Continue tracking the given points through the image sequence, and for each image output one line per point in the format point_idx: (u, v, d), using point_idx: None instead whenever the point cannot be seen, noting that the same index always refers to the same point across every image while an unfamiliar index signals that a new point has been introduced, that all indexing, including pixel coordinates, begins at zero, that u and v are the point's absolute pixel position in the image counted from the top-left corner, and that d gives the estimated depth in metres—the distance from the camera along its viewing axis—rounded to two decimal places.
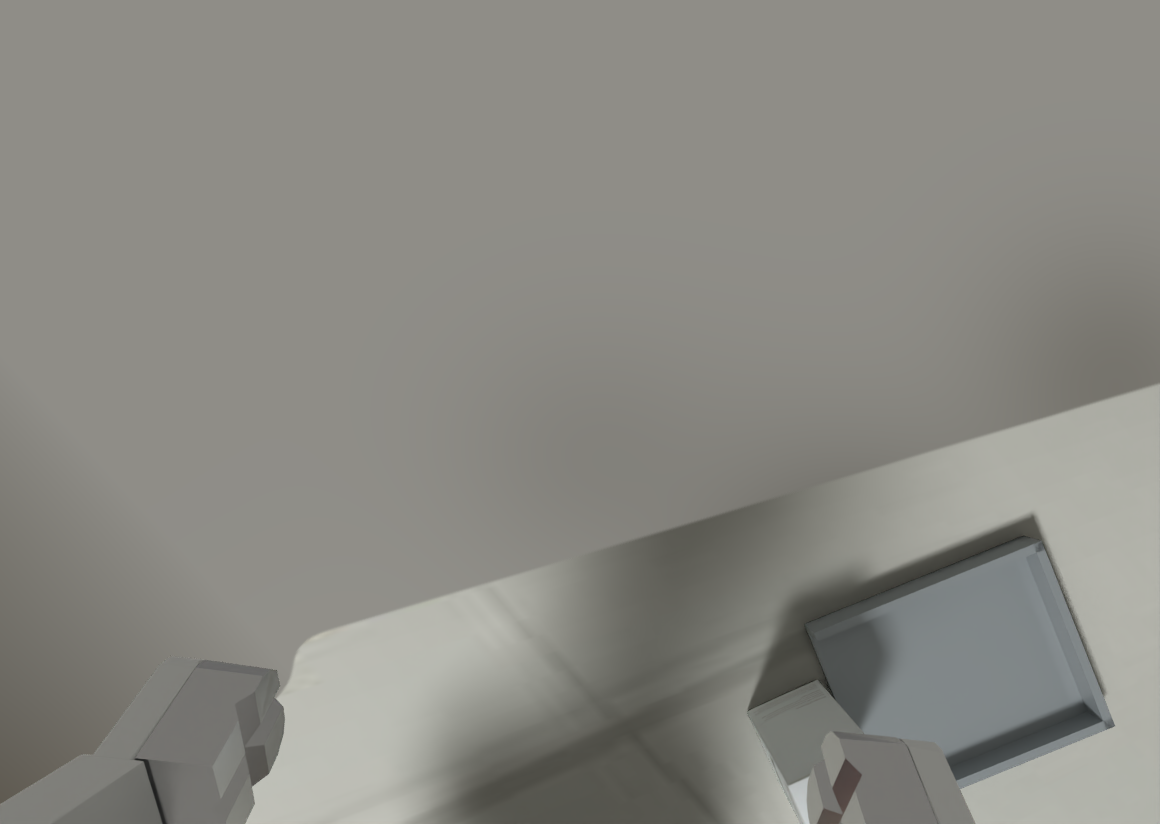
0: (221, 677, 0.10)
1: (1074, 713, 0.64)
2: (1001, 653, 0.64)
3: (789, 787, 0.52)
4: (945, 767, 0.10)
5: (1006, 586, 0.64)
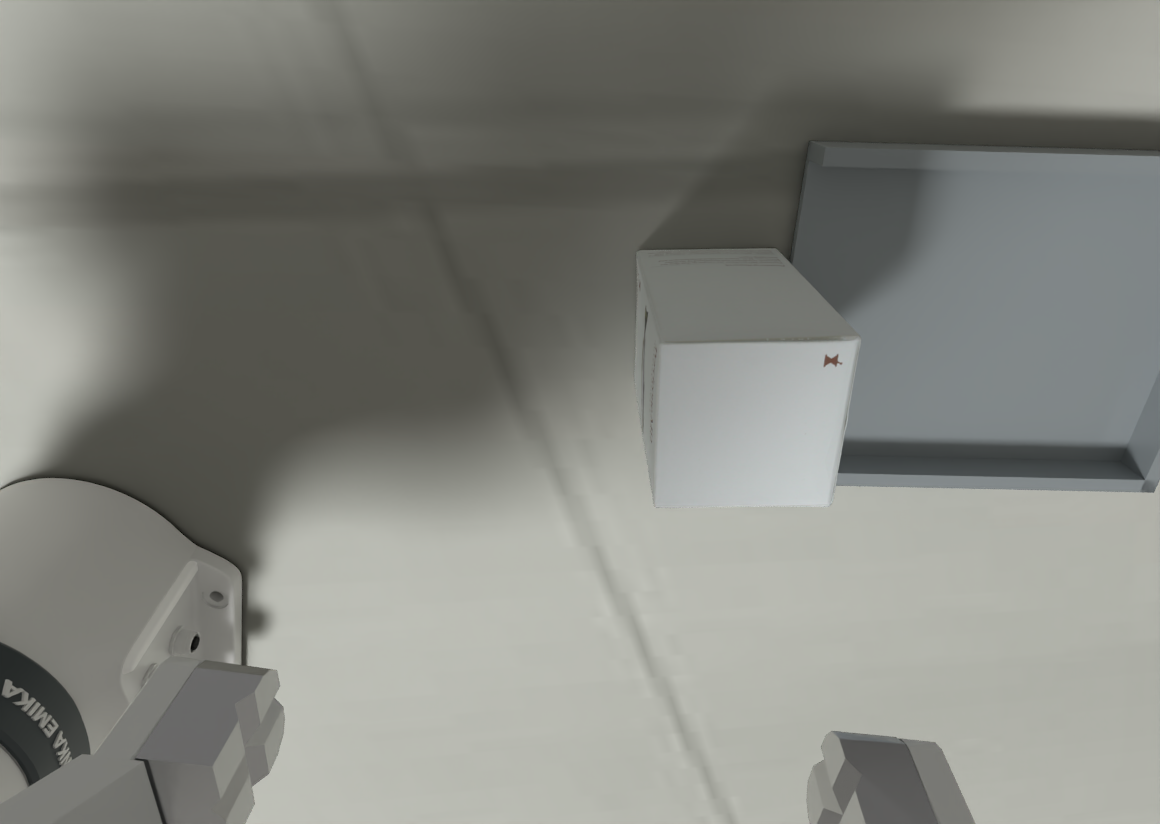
0: (221, 678, 0.10)
1: (1102, 457, 0.41)
2: (1076, 331, 0.37)
3: (661, 347, 0.25)
4: (945, 767, 0.10)
5: None
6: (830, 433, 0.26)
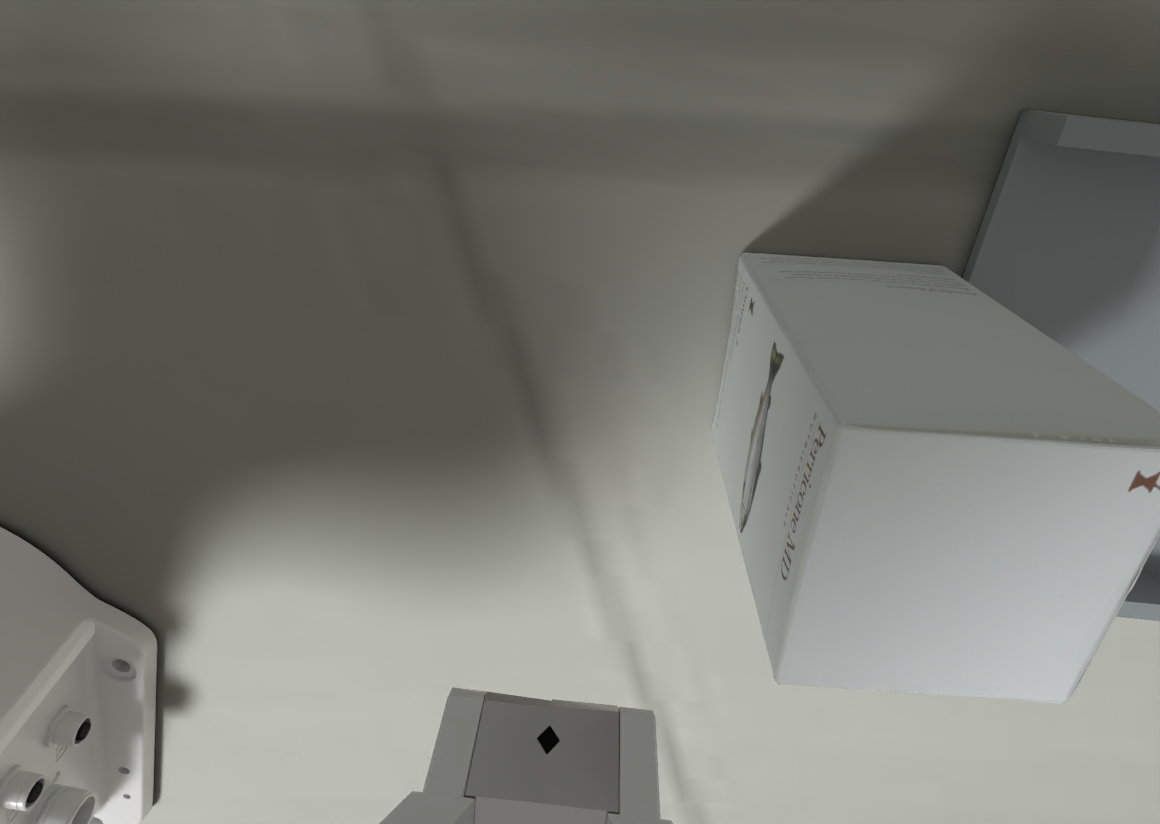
0: (507, 709, 0.10)
1: None
2: None
3: (842, 434, 0.14)
4: (648, 734, 0.10)
5: None
6: (1104, 598, 0.15)
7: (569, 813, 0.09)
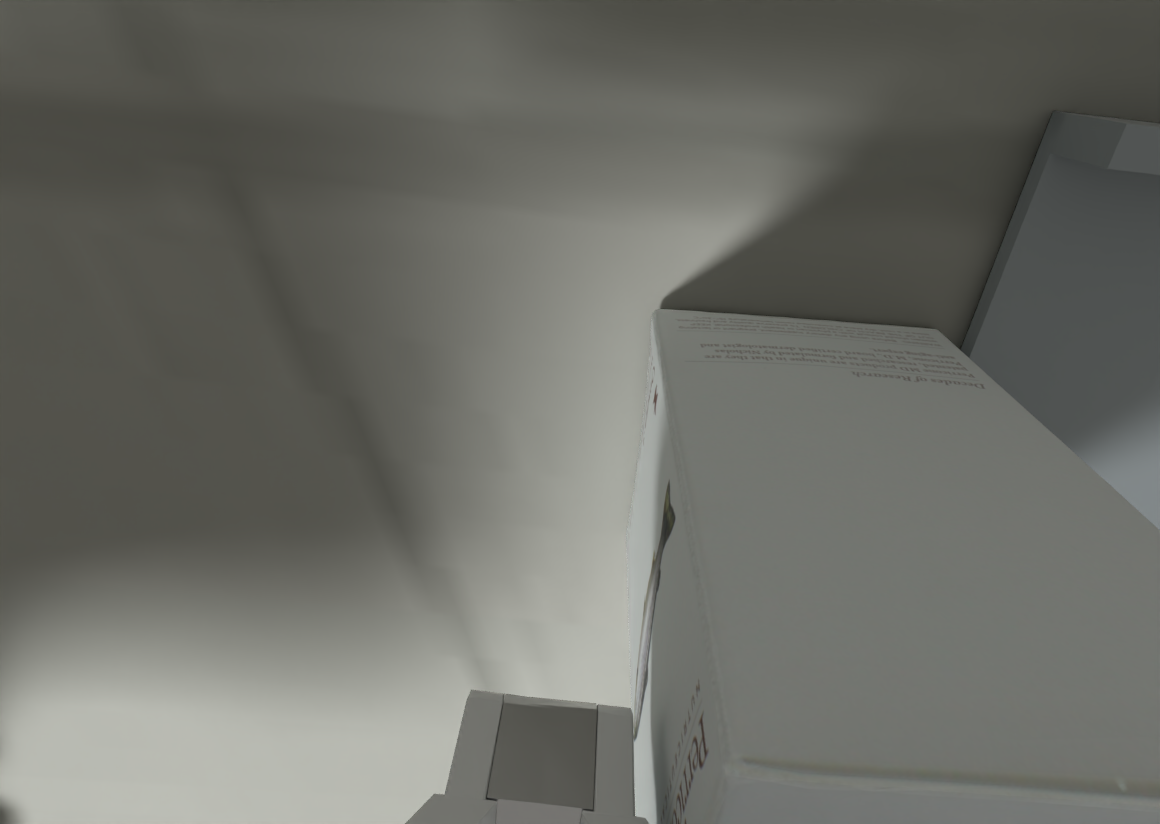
0: (525, 712, 0.10)
1: None
2: None
3: (730, 783, 0.07)
4: (626, 731, 0.10)
5: None
6: None
7: (544, 809, 0.09)
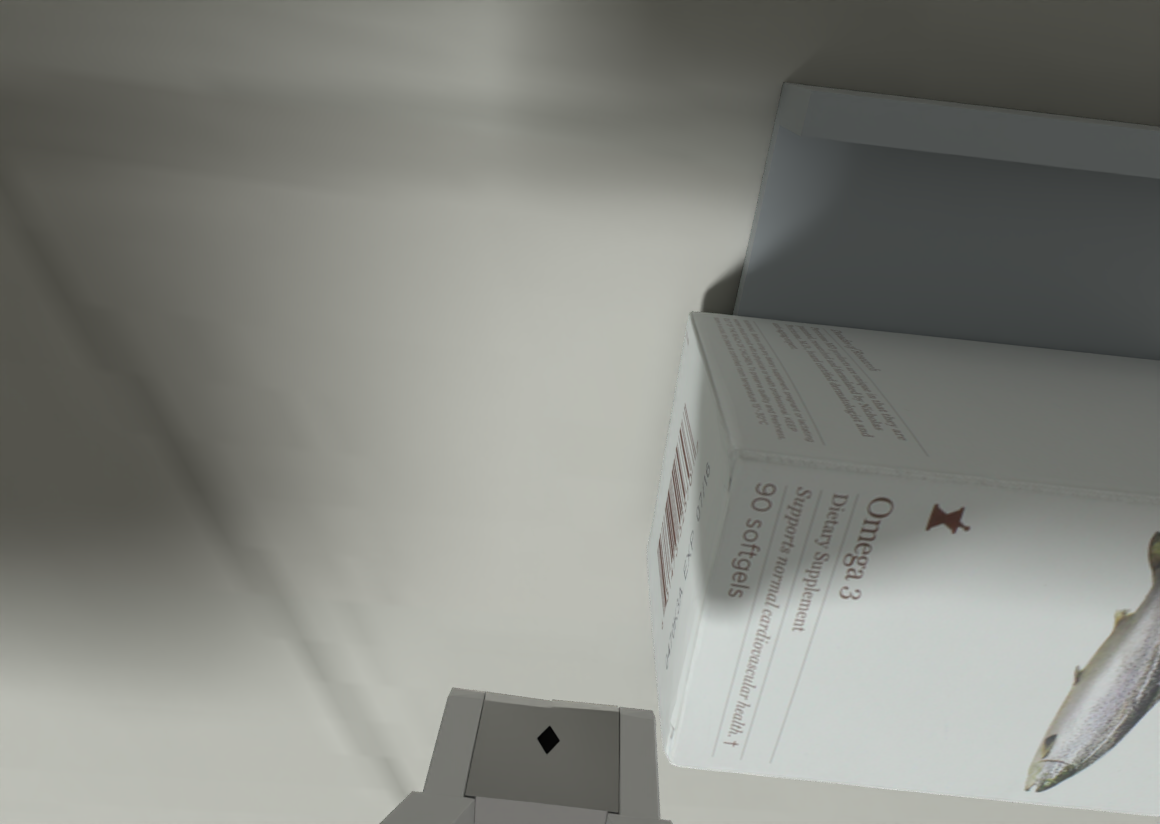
0: (508, 709, 0.10)
1: None
2: None
3: None
4: (649, 734, 0.10)
5: None
6: None
7: (569, 813, 0.09)
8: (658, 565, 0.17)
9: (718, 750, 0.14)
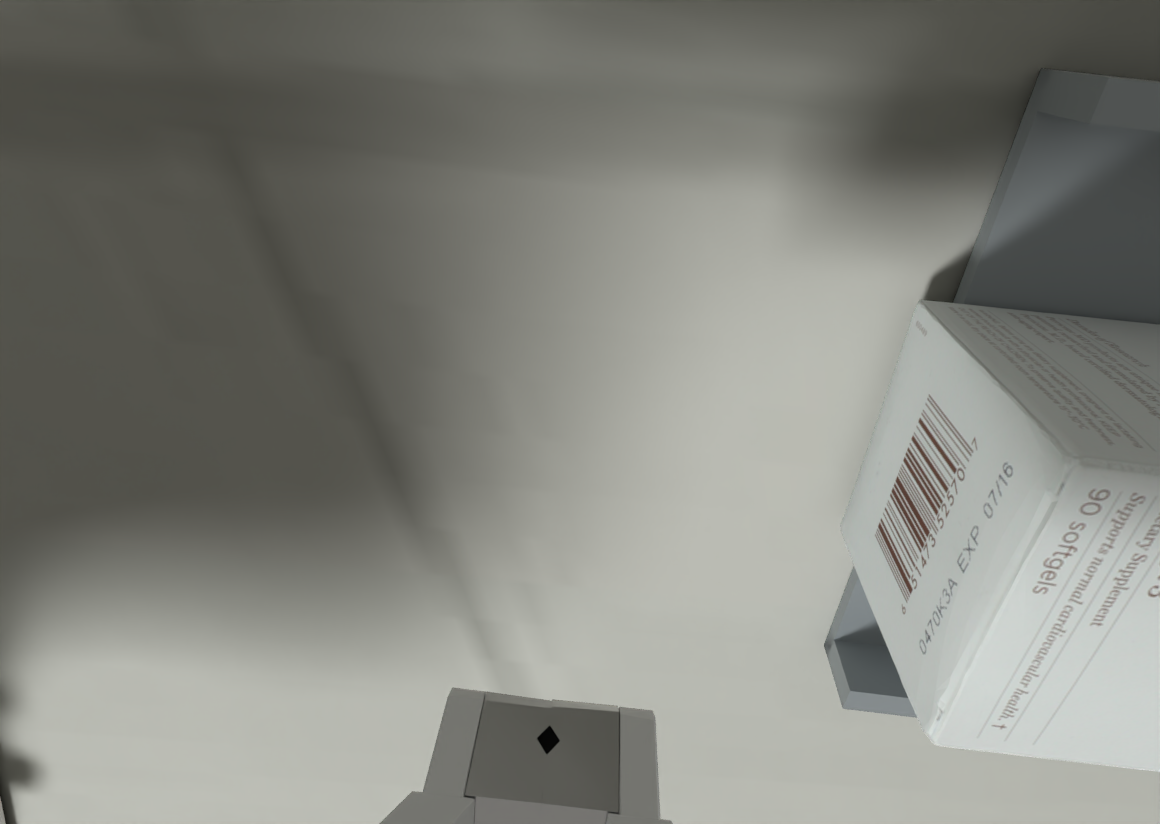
0: (508, 710, 0.10)
1: None
2: None
3: None
4: (649, 734, 0.10)
5: None
6: None
7: (569, 813, 0.09)
8: (881, 550, 0.17)
9: (985, 732, 0.14)
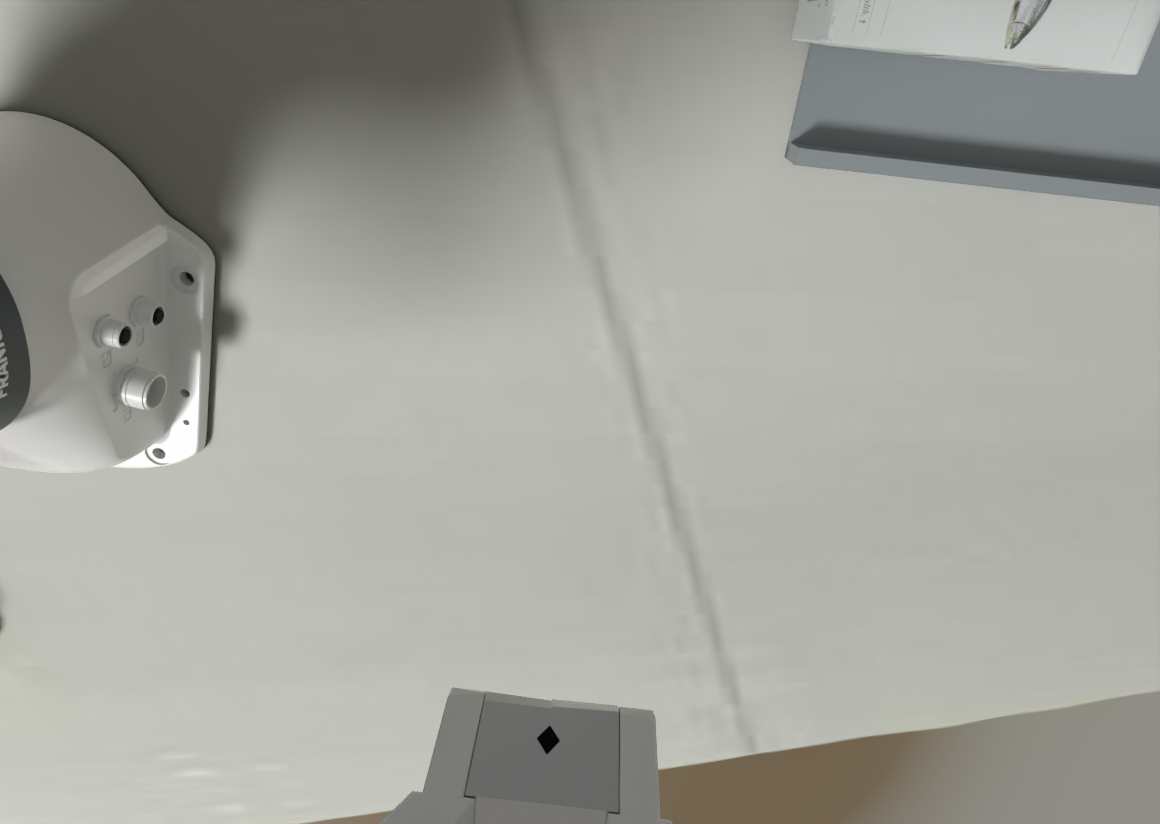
0: (508, 709, 0.10)
1: None
2: None
3: None
4: (649, 733, 0.10)
5: None
6: None
7: (569, 812, 0.09)
8: (809, 2, 0.31)
9: (855, 27, 0.28)
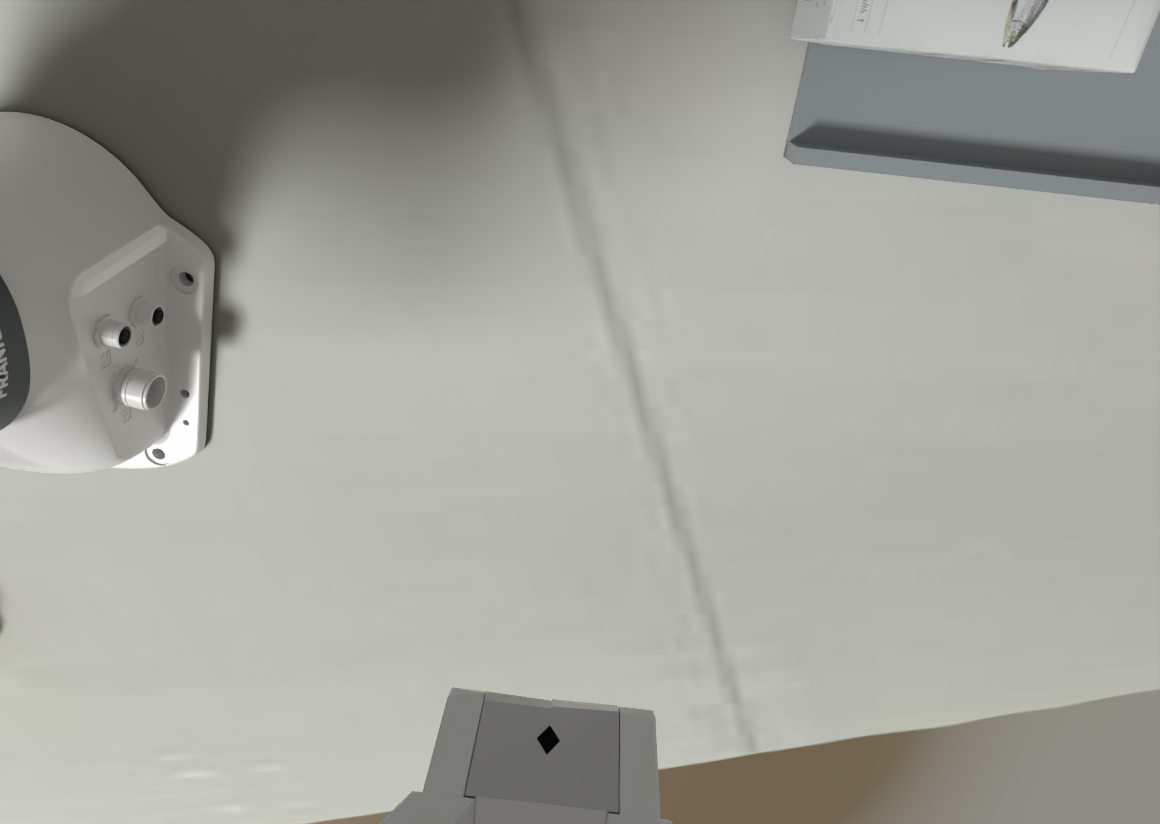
0: (507, 710, 0.10)
1: None
2: None
3: None
4: (649, 734, 0.10)
5: None
6: None
7: (569, 813, 0.09)
8: (808, 1, 0.31)
9: (854, 26, 0.28)
